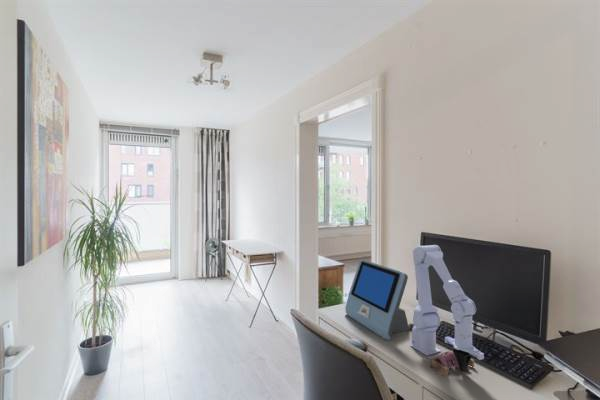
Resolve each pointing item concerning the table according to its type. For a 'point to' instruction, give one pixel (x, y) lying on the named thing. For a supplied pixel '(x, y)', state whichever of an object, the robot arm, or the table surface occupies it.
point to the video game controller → (448, 356)
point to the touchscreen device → (378, 299)
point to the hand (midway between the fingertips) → (463, 370)
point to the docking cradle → (442, 369)
